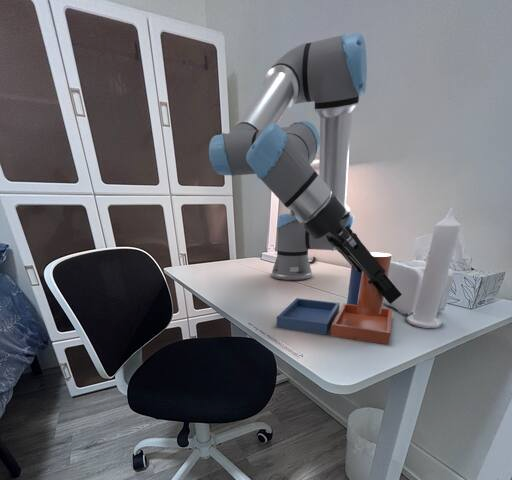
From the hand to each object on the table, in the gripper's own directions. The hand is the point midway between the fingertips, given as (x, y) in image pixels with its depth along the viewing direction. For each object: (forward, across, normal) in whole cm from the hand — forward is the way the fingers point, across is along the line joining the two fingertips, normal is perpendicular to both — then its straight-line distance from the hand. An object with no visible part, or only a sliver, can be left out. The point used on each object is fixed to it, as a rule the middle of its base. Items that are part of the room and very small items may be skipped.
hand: (389, 294), depth 61 cm
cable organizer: (+16, -16, +4) cm, 23 cm away
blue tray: (-4, -8, -16) cm, 19 cm away
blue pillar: (+6, -16, -6) cm, 18 cm away
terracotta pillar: (0, 0, -5) cm, 5 cm away
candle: (+15, -5, +2) cm, 16 cm away
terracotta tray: (+4, -3, -8) cm, 10 cm away
